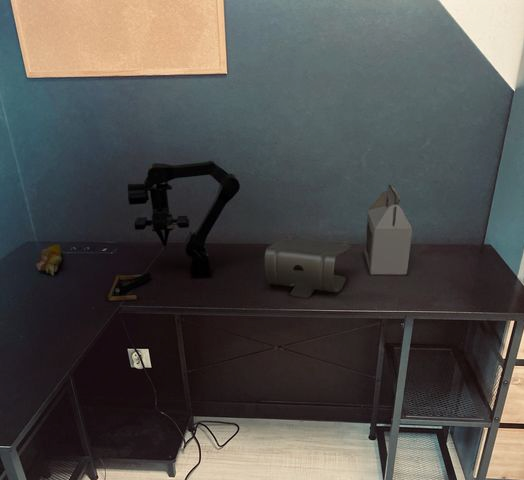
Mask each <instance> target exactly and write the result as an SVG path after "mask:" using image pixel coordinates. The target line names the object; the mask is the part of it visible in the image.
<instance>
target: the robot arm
mask: <svg viewBox="0 0 524 480" xmlns="http://www.w3.org/2000/svg"><path fill="white" fill-rule="evenodd" d="M201 176H211V177H212V178H213V179H214V180H215V181H216V182H217V183H218V184H219V186H218V189H217V193H216V197H215V198H214V200H213V202H212V203H211V205H210V207H209V209H208V210H207V212H206V214H205V215H204V217H203V219H202V221H201V222H200V224H199V226H198V227H197V229H196V230H194V232H193V231H192V230H190V231H189V233H188V236H187V237H186V238H185V239H184V240H185V244H184V245H185V252H186V255H187V256H188V257H189V258H191V261H190V263H189V264H190V265H189V266H190V274H191V277H192V278H210V277H211V269H210V256H209V253H208V249H207V248H206V247H205V245H206V241H207V237H208V236H209V234H210V232H211V231H212V228H213V227H214V226H215V223H216V222H217V220H218V219H219V217H220V215H221V213H222V212H223V210H224V209H225V207H226V205H227V204H228V203H229V202H230V201H231V200H232V199H233V198H234V197H235V196H236V195H237V194H238V192H239V191H240V190H241V189H240V188H241V184H240V181H239V179H238V177H237V176H236V175H235V174H233V173H228V172H227V171H226V170H225V169H223V168H222V167H221V166H219V164H217V163H216V162H215V161H213V160H209V161H208V160H207V161H203V162H193V163H184V164H167V163H158V162H155V163H152V164H150V166H149V167H148V170H147V176H146V178H145V179H144V182H142V183H127V200H128V204H129V205H146V204H147V203H148V201H150V200H151V201H150V202H151V211H152V214H151V215H152V216H151V219H149V218H148V216H145V217H144V216H143V217H140V216H139V217H136V218H135V221H134V223H133V224H134V230H136V231H141V230H143V231H144V230H145V229H146V228H147V227H151V231H152V232H155V233H156V234H157V236H158V237H159V239H160V242H161V243H162V245H163V247H167V246H168V245H167V244H168V239H169V235H170V232H171V231H173V230H174V227H175V226H177V227H178V228H179V229H184V228H185V229H187V228H190V223H191V221H190V217H189V215H177V217H176V218H173V214H171V212H170V205H169V195H168V191H169V190H173V185H172V184H171V183H169V182H170V181H173V180H175V179H181V178H193V177H201ZM149 193H150V194H149ZM149 195H150V196H149Z"/></svg>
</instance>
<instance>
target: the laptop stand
mask: <svg viewBox="0 0 524 480" xmlns="http://www.w3.org/2000/svg"><path fill="white" fill-rule="evenodd" d="M351 247H352V244H349V240H343V241H342V243H334V242H333V243H332V242H322V241H314V240H305V239H296V238H295V239H293V235H292V234H287V235H286V238H281V239H280V240H278V241H275V242H274V243H273V244H271V245H269V246H267V247H266V249H265V251H264V252H265V253H264V275H265V280H266V282H267V284H269V285H276V286H277V285H278V286H286V287H293V288H292V289H291V291H290V293H289V295H290V296H292V297H298V298H310V297H311V296H312V295H313V293H314V292H315V290H317V291H325V292H330V293H339V292H340V291H341V290H342V288H343V287H344V285H345V283H346V281H347V279H346V277H345V276H342V275H338V274H334V272H335V271H334V270H335V262H336V258H337V257H338V256H339V255H341V254H342V253H344V252H345V251H347V250H348V249H350V248H351ZM296 266H299V267H301V268H302V270H299V269H294V268H295V267H296Z"/></svg>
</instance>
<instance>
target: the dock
mask: <svg viewBox="0 0 524 480" xmlns="http://www.w3.org/2000/svg"><path fill="white" fill-rule="evenodd" d="M141 275H142V274H131V275H120V274H116V277H115V278H114V281H113V283H112V286H111V288H110V291H109V293H108V295H107V300H108V301H127V300H129V301H130V300H131V301H132V300H137V299H138V297H137V295H136V294H133V295H131V294H130V295H115V293H114V289H115V287H116V286H118V284H120V281H122V280H123V281H124V280H132V279H134V278H136V277H139V276H141Z"/></svg>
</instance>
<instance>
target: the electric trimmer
mask: <svg viewBox="0 0 524 480" xmlns="http://www.w3.org/2000/svg"><path fill="white" fill-rule="evenodd" d="M140 275H141V276H139V277H136V278H134V279H128V280H127V281H126V282H122V283H118V285H117V286H116V287H115V289H114V295H117V296H120V295H123V294H124V292H127V291H129V290H130V289H133V288H135V287H140V286H141V285H143V284H144V283H146V282H148V281H149V280H150V279H152V278H151V272H146V273H144V274H140Z"/></svg>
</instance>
